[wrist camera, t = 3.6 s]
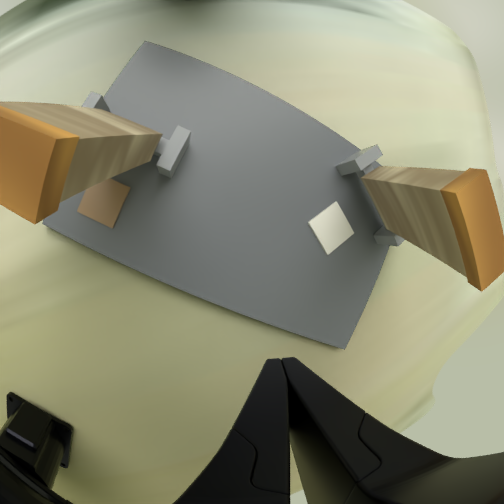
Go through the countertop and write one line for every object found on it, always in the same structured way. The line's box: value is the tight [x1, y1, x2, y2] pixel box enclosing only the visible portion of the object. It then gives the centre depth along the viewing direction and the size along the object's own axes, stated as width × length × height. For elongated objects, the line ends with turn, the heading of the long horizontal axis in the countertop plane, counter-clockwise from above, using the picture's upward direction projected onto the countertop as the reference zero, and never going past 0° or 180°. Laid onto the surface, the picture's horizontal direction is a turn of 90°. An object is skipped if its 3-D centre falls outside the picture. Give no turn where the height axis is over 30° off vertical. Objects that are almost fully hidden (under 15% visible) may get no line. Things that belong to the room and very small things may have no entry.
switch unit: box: [42, 41, 405, 350], centre depth 16 cm, size 14×23×3 cm, turn 65°
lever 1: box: [0, 102, 163, 224], centre depth 8 cm, size 2×4×10 cm, turn 65°
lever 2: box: [361, 166, 504, 292], centre depth 12 cm, size 2×4×10 cm, turn 34°
